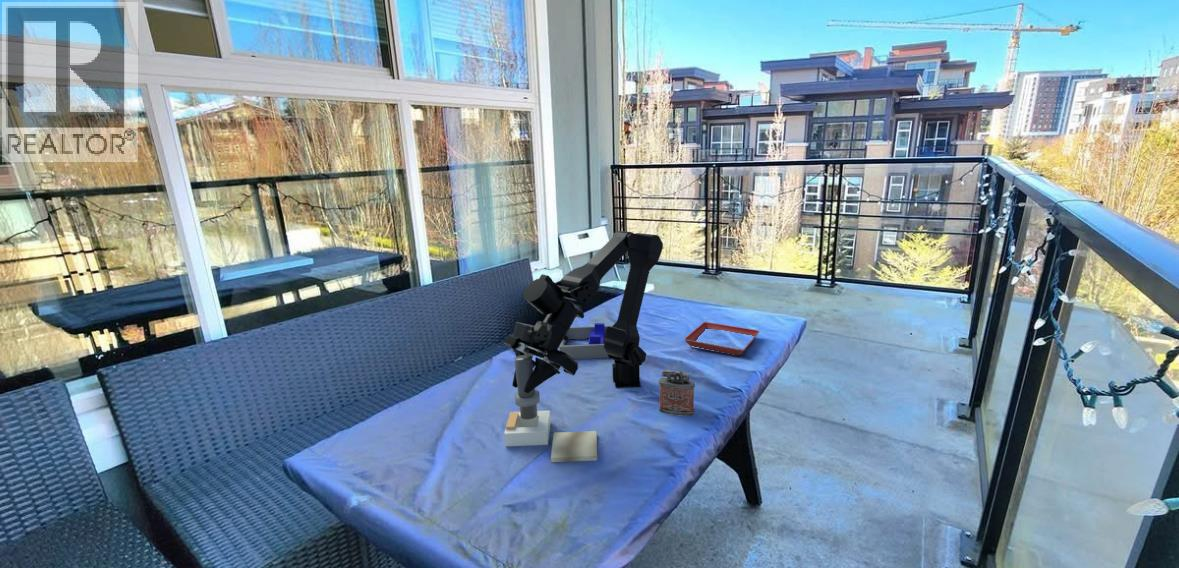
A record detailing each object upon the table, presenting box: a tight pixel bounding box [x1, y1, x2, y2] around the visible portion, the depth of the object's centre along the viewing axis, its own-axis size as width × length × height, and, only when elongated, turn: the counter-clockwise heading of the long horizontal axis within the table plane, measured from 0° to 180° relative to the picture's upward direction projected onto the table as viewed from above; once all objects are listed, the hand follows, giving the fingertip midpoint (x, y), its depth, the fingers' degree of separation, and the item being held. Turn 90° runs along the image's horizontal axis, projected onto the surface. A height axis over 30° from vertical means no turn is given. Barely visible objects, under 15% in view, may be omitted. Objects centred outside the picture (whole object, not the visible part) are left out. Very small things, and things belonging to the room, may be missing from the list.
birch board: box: [550, 430, 598, 463], centre depth 101 cm, size 9×9×1 cm
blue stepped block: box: [587, 322, 606, 345], centre depth 153 cm, size 12×4×6 cm, turn 172°
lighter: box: [658, 369, 696, 417], centre depth 112 cm, size 8×3×10 cm, turn 71°
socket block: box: [503, 410, 552, 447], centre depth 106 cm, size 9×9×4 cm
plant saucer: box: [684, 321, 760, 356], centre depth 152 cm, size 18×18×3 cm
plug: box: [514, 355, 541, 419], centre depth 104 cm, size 5×5×13 cm
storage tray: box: [558, 324, 614, 360], centre depth 153 cm, size 17×17×4 cm
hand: (519, 389), depth 103 cm, fingers closed on plug, 4 cm apart
